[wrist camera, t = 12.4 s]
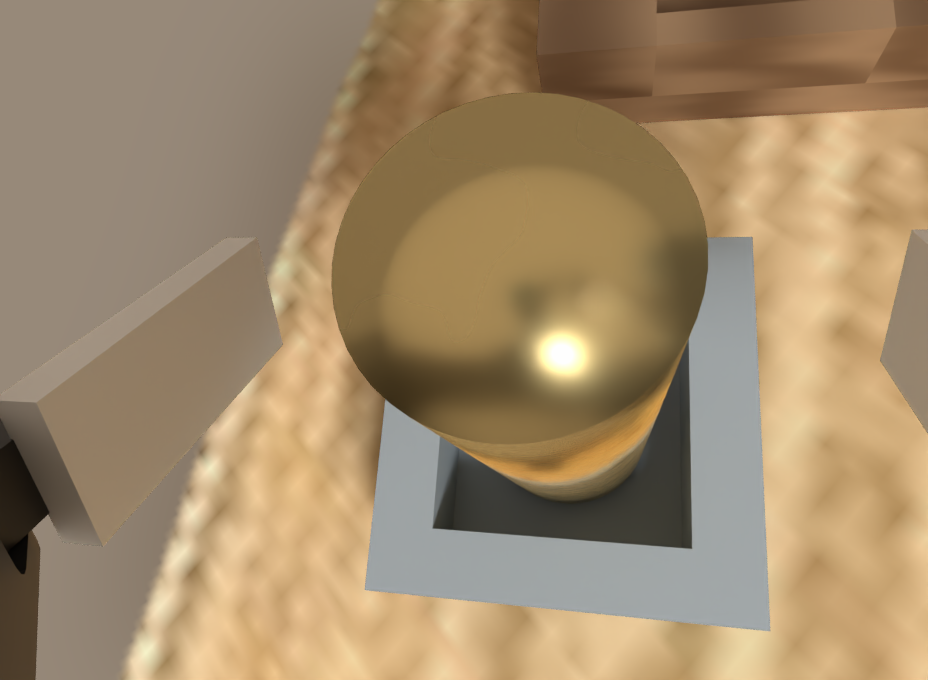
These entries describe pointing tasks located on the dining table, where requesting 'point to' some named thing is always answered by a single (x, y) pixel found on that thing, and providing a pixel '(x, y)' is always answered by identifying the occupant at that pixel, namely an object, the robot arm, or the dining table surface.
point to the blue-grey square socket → (603, 498)
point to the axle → (525, 286)
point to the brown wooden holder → (735, 56)
